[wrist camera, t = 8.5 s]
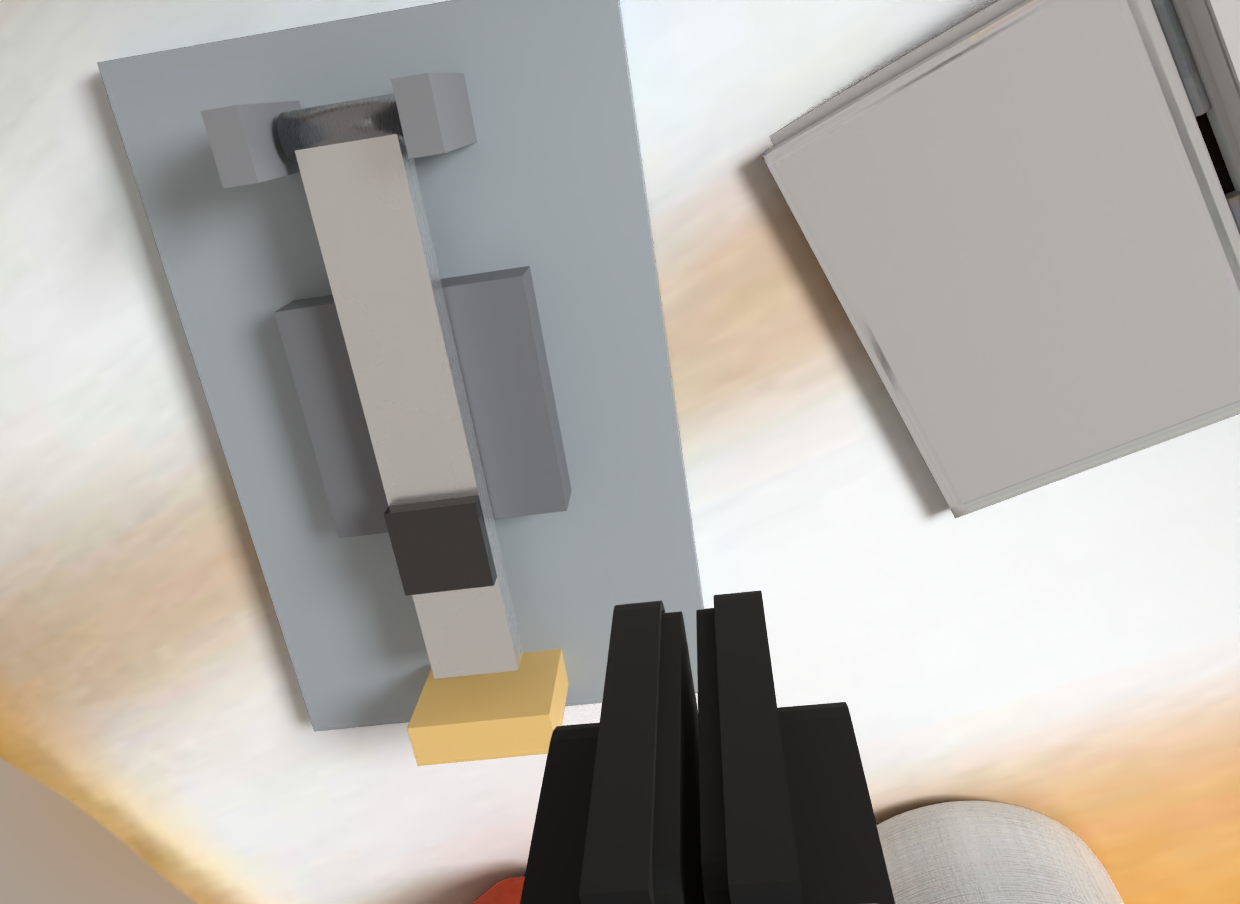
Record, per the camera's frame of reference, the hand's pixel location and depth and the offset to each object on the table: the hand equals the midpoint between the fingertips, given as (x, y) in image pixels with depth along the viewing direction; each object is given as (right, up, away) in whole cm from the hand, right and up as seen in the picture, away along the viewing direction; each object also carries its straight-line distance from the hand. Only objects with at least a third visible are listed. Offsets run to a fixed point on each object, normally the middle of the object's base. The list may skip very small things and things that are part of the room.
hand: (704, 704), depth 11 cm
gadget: (+17, +12, +20) cm, 29 cm away
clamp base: (-7, +5, +23) cm, 25 cm away
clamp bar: (-7, +4, +20) cm, 22 cm away
